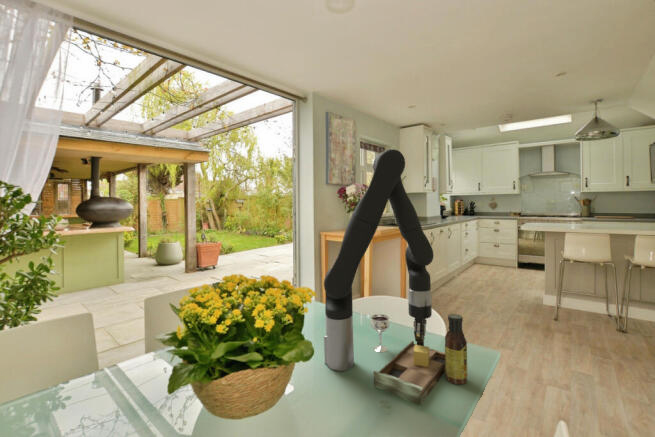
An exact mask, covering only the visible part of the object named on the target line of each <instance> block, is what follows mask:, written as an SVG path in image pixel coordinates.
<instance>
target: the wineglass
mask: <svg viewBox="0 0 655 437" xmlns="http://www.w3.org/2000/svg"><path fill="white" fill-rule="evenodd" d="M370 318H371V321H370V325H371V328H372V329H374V330H375V332H378V334H379V345H375V346H374V347H373V349H374V351H375V352H378V353H386V352H387V351H388V348H387V347H386V346H385V345H382V333H383V332H385V331H386V330H388V329H389V327H390V321H389V319H390V316H388V315H387V314H380V313H377V314H373V315H371V317H370Z"/></svg>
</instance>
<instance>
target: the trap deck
mask: <svg viewBox="0 0 655 437" xmlns="http://www.w3.org/2000/svg"><path fill="white" fill-rule="evenodd" d="M414 342H415V341H414V340H411V341H410V343H408V344H407V345H406V346H405V347H404V348H403V349H402V350H401V351H400V352H398V353H397V355H394V357H393V358H392V359H391V360H390V361H389V362H387V364H385V365H384V366H383V367H382V368H381V369H380V370H379V371H376V370H374V371H373V373H372V374H373V377H372V378H373V387H375V388H378V389H380V390H382V391H385V392H387V393H389V394H391V395H394V396H396V397H399V398H401V399H403V400H405V401H408V402H410V403H412V404H415V405H417V406H422V405H423V403H424V401H426V398H427V397H428V395H429V394H431V392H432V390H433V389H434V388H435V386H436V385H437V383H438V382H439V381H440V379H441V378H442V377H443V375H444V374H445V352H443V351H439V350H435V349H432V348H430V347H429V365H428V367H425V366H419V365H414V347H415V345H417V343H414Z"/></svg>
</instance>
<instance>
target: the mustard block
mask: <svg viewBox="0 0 655 437" xmlns="http://www.w3.org/2000/svg"><path fill="white" fill-rule="evenodd" d="M429 348H430V347H429V346H425V345H424V346H420V345H417V344H416V345H415V347H414V365H419V366H425V367H428V365H429Z"/></svg>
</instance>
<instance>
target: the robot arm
mask: <svg viewBox="0 0 655 437" xmlns="http://www.w3.org/2000/svg"><path fill="white" fill-rule="evenodd" d="M372 166H373V167H372V168H373V174H372V176H371V181H369V182H370V183H369V185H368V188H367V189H366V191H365V193H364V194H363V195H362V197H361V199H360V200H359V202H358V204H357V205H355V206H356V207H355V208H354V210H353V212H352V213H351V216H350V218H349V221H348V223H347V227H346V229H345V231H344V234H343V238H342V241H341V245H340V249H339V252H338V254H337V257H336V259H335V261H334V263H333V265H332V267H331V268H330V269H328V270H327V272H326V274H325V275H324V276H325V277H324V280H323V287H324V291H325V310H324V311H325V335H324V336H323V345H324V346H323V350H324V351H323V352H324V364H326V365H327V367H328V368H330V369H331V370H333V371H339V372H341V371H342V372H343V371H348V370H350V369H351V368H352V367H353V366H354V364H355V360H354V358H355V355H354V354H355V352H354V320H353V318H354V317H353V315H354V314H353V306H354V305H353V283H354V280H355V277H356V274H357V271H358V267H359V266H360V264H361V261H362V259H363V257H364V255H365V254H366V252H367V250H368V248H369V246H370V244H371V243H372V240H373V239H374V236H375V234H376V231H377V229H378V227H379V225H380V222H381V220H382V217H383V215H384V213H385V209H386V207H387V203H388V201H389V203H390V206H391V210H392V212H393V214H394V218H395V221H396V224H397V227H398V230H399V232H400V235H401V237H402V238H403V240H405V241H406V243H407V245H408V246H407V247H406V249H405V254H404V255H405V263H406V269H407V272H408V292H407V293H408V294H407V297H408V299H407V301H408V315H409V316H410V317H411V318H413V319H414V321H413V328H414V331H413V334H414V340H415V341H414V342H416V345H420V346H425V339H426V338H425V336H426V332H427V323H428V321H427V319H429V318H431V317H432V315H433V314H432V313H433V311H432V309H433V308H432V304H433V303H432V291H431V289H432V288H431V283H432V282H431V274H430V272H428V270H427V266H430V264H431V263H432V262H433V260H434V249H433V247H432V245H431V243H430V241H429V239H428V238H427V235H426V234H425V232H424V230H423V229H422V228H423V227H422V225H421V222H420V219H419V216H418V213H417V211H416V209H415V206H414V205H413V202H411V199H410V198H409V196H408V194H407V192H406V189H405V187H404V183H403V180H402V174H403V173H404V171H405V168H406V159H405V156H404V155H403V153H402V152H401V151H399V150H397V149H394V148H391V149H387V150H384V151H382V152H380V153H378V154H377V155H376V156H375V158H374V160H373V164H372Z"/></svg>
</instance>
